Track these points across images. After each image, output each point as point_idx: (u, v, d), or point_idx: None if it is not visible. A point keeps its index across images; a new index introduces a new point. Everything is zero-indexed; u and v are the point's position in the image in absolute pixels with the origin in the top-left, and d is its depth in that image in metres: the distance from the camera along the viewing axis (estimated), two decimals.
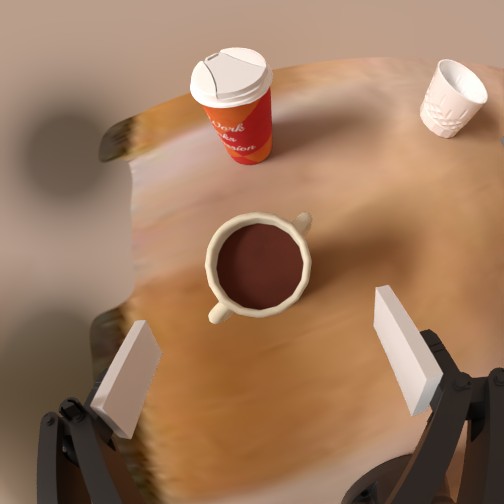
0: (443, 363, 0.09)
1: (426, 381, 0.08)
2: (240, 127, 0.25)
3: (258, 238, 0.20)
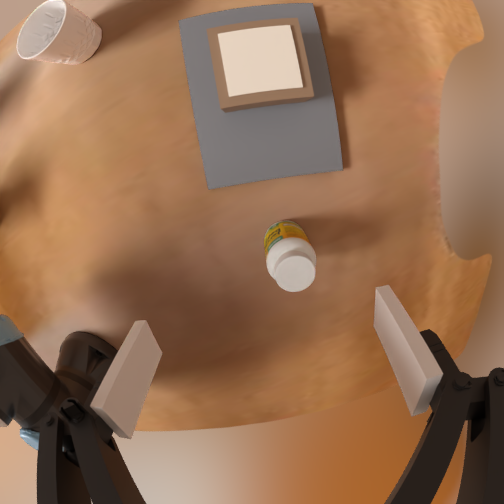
0: (443, 363, 0.09)
1: (426, 381, 0.08)
2: None
3: None
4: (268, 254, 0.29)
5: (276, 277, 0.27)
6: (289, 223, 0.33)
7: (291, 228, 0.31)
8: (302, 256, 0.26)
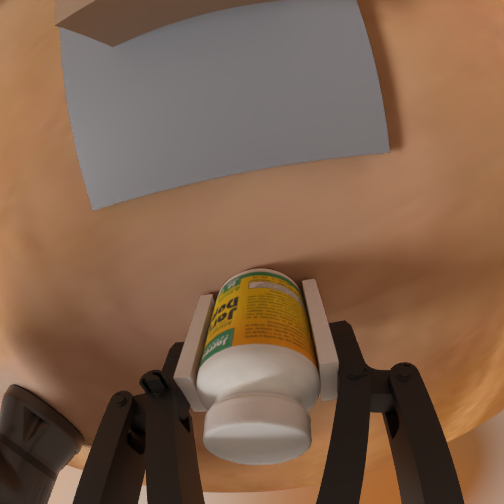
0: (349, 352, 0.11)
1: (320, 366, 0.10)
2: None
3: None
4: (198, 377, 0.11)
5: (208, 448, 0.09)
6: (265, 279, 0.15)
7: (263, 300, 0.13)
8: (271, 423, 0.08)
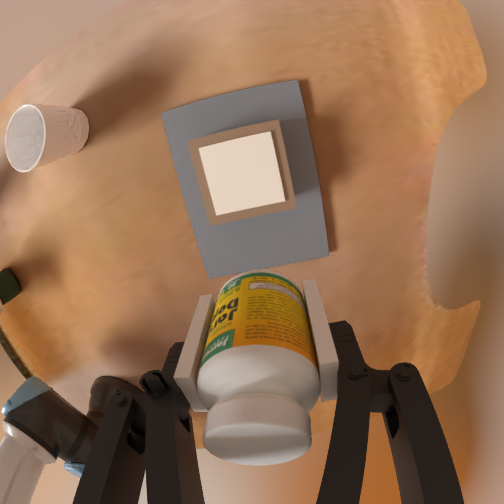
0: (349, 353, 0.11)
1: (320, 366, 0.10)
2: None
3: None
4: (198, 378, 0.11)
5: (208, 449, 0.09)
6: (266, 280, 0.15)
7: (263, 301, 0.13)
8: (272, 424, 0.08)
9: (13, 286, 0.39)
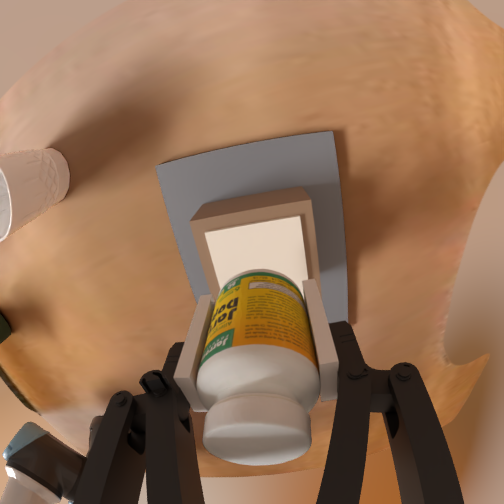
0: (349, 353, 0.11)
1: (320, 366, 0.10)
2: None
3: None
4: (198, 377, 0.11)
5: (208, 448, 0.09)
6: (266, 279, 0.15)
7: (263, 301, 0.13)
8: (271, 424, 0.08)
9: (4, 329, 0.34)
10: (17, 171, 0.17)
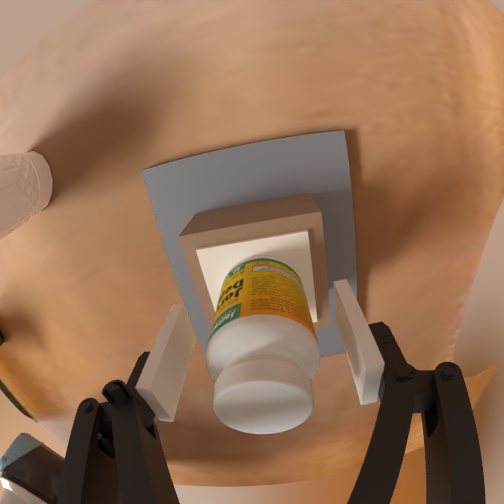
0: (390, 354, 0.10)
1: (366, 370, 0.09)
2: None
3: None
4: (207, 349, 0.12)
5: (217, 414, 0.10)
6: (268, 264, 0.16)
7: (266, 281, 0.14)
8: (277, 381, 0.09)
9: None
10: None
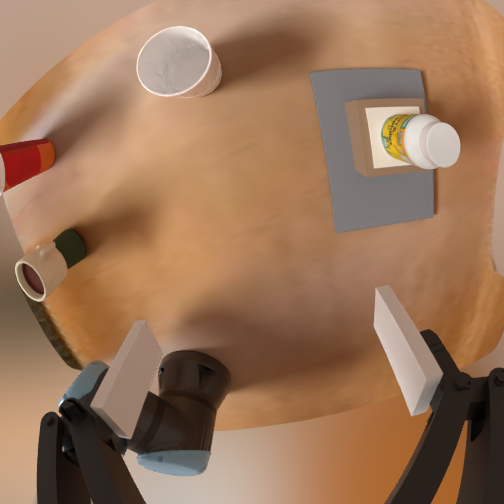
0: (443, 363, 0.09)
1: (426, 381, 0.08)
2: (13, 186, 0.29)
3: (30, 265, 0.31)
4: (407, 129, 0.20)
5: (427, 145, 0.18)
6: None
7: None
8: None
9: (79, 249, 0.40)
10: None
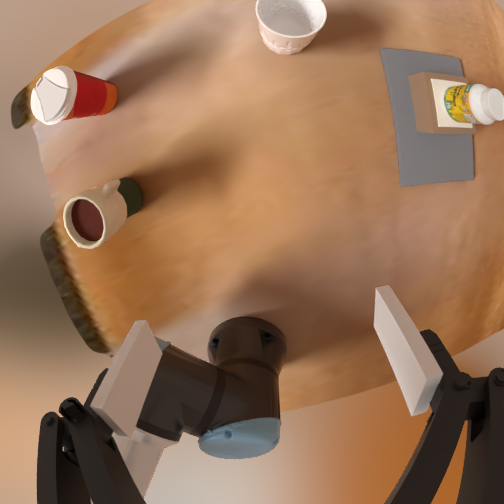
0: (443, 363, 0.09)
1: (426, 381, 0.08)
2: (74, 117, 0.28)
3: (85, 205, 0.30)
4: (470, 92, 0.21)
5: (489, 102, 0.19)
6: None
7: None
8: None
9: (138, 198, 0.40)
10: None
